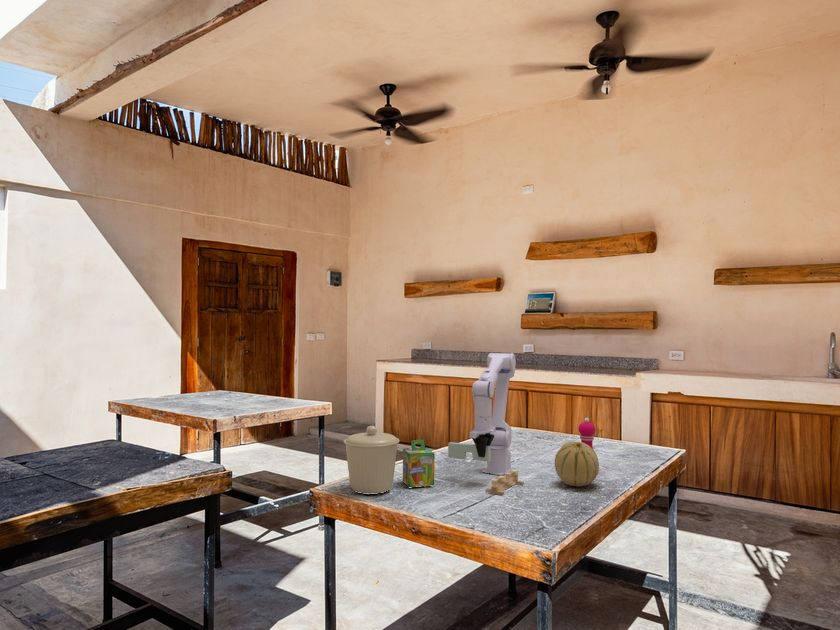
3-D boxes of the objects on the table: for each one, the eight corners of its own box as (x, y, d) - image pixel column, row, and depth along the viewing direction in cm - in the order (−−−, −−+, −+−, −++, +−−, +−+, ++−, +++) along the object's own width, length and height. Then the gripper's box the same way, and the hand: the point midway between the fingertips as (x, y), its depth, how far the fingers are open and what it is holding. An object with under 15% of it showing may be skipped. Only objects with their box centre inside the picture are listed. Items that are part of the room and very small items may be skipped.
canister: (399, 483, 195) (399, 421, 195) (399, 499, 177) (399, 430, 177) (346, 483, 194) (346, 421, 195) (340, 499, 176) (340, 431, 177)
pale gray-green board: (450, 456, 202) (450, 442, 202) (490, 460, 193) (490, 445, 193) (448, 457, 201) (448, 443, 201) (488, 461, 192) (488, 446, 192)
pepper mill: (598, 475, 205) (598, 419, 205) (577, 474, 207) (577, 419, 207) (596, 470, 212) (596, 416, 213) (576, 469, 214) (575, 415, 214)
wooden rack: (507, 481, 197) (507, 468, 197) (523, 484, 193) (523, 471, 194) (485, 492, 184) (485, 478, 184) (502, 495, 180) (502, 481, 181)
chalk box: (408, 489, 188) (408, 444, 188) (401, 482, 196) (401, 438, 197) (435, 487, 190) (435, 442, 190) (427, 480, 199) (427, 437, 199)
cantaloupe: (581, 478, 202) (581, 435, 202) (609, 489, 188) (608, 443, 188) (545, 482, 196) (545, 438, 197) (571, 493, 183) (571, 446, 183)
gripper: (482, 420, 186) (482, 462, 185) (503, 414, 198) (503, 454, 197) (464, 418, 190) (464, 459, 190) (485, 412, 202) (485, 451, 201)
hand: (483, 456), depth 194 cm, fingers closed on pale gray-green board, 2 cm apart
